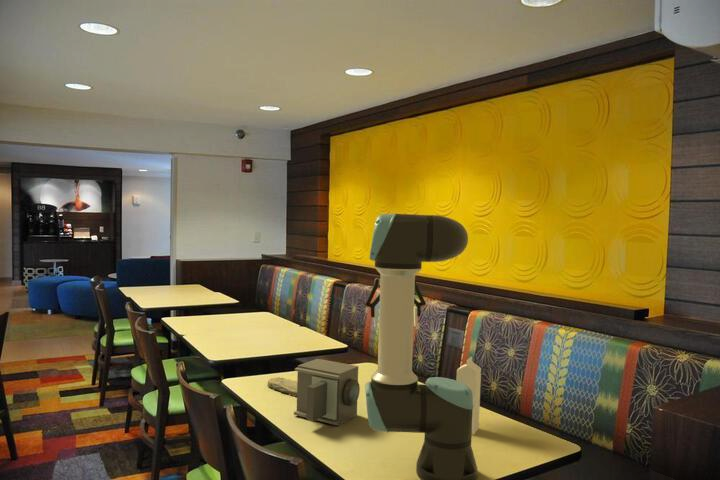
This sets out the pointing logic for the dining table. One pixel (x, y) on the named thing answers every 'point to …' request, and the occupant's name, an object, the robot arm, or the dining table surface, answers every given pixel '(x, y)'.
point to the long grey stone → (283, 385)
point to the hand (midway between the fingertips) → (395, 326)
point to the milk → (472, 387)
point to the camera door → (322, 398)
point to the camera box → (345, 390)
